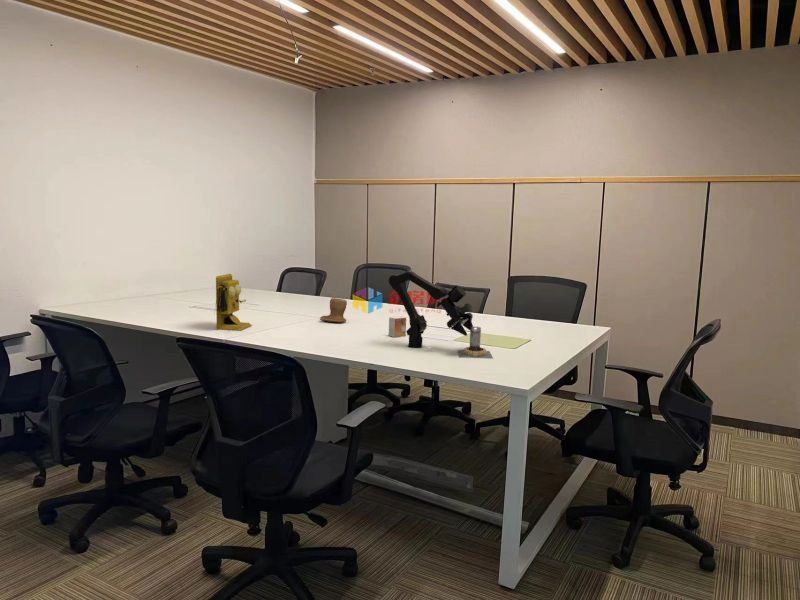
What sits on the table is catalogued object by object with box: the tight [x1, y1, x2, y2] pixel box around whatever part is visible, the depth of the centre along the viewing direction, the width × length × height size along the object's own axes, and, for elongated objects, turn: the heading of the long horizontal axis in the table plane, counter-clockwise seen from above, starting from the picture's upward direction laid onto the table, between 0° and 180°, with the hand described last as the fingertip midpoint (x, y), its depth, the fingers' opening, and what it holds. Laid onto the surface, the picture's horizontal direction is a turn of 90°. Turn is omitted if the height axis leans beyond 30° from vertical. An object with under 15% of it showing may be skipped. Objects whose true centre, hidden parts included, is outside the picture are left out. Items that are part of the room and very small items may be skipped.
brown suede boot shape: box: [319, 297, 348, 323], centre depth 367 cm, size 15×12×15 cm
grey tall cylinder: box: [469, 326, 482, 351], centre depth 286 cm, size 5×5×13 cm
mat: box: [456, 349, 494, 360], centre depth 287 cm, size 16×16×1 cm
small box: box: [388, 316, 407, 338], centre depth 328 cm, size 8×6×10 cm
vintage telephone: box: [214, 273, 253, 332], centre depth 336 cm, size 31×14×30 cm, turn 171°
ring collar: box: [463, 346, 487, 357], centre depth 287 cm, size 10×10×2 cm
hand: (470, 333), depth 287 cm, fingers open, 9 cm apart
